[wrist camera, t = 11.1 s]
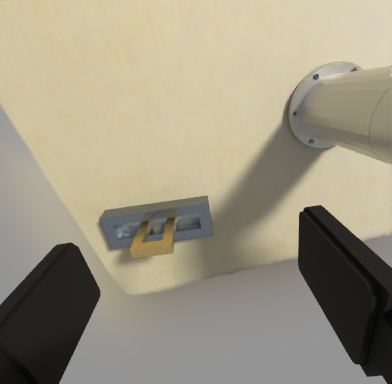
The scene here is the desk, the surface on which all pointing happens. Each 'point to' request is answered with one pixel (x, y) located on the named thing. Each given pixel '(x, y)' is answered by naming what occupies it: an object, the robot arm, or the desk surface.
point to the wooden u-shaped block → (155, 247)
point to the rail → (158, 220)
